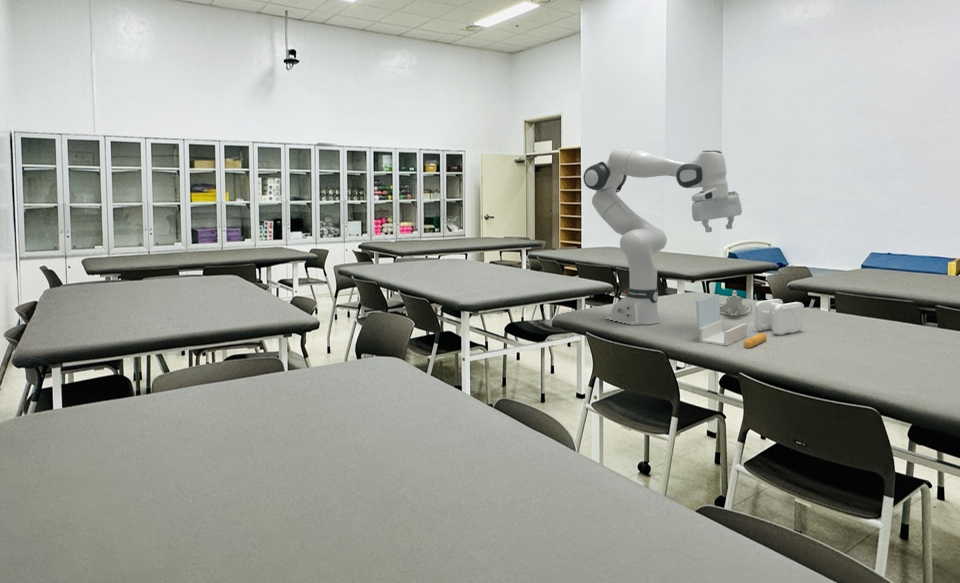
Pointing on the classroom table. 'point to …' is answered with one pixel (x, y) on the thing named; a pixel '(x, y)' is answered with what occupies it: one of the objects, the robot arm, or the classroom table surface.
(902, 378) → the classroom table surface
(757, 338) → the rod
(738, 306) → the skeletal model
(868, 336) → the classroom table surface
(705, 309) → the cover
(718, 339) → the duct
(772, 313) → the cable organizer
